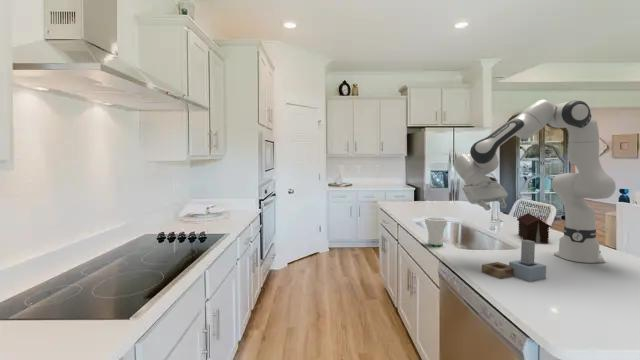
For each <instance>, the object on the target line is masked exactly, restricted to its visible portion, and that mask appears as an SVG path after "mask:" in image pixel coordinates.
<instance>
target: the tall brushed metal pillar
mask: <svg viewBox="0 0 640 360" xmlns="http://www.w3.org/2000/svg"><path fill="white" fill-rule="evenodd" d="M535 248H536V243H535V242H534V241H530V240H524V239H523V240H521V247H520V249H521V250H520V251H521V253H520V260H521V264H523V265H526V266H533V265H534V262H535Z"/></svg>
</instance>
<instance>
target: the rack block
mask: <svg viewBox="0 0 640 360" xmlns="http://www.w3.org/2000/svg"><path fill="white" fill-rule="evenodd" d="M508 265H509V267H511V268H514V276H513V277H516V278H519V279H521V280H524V281H527V282H534V281H539V280H544V279H547V265H546V264H543V263H539V262H536V261H534V265H533V266H526V265H523V264H521V259H519V260H514V261H513V260H512V261H509V262H508Z"/></svg>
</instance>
